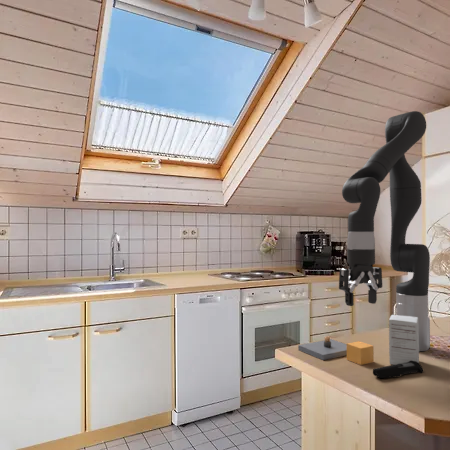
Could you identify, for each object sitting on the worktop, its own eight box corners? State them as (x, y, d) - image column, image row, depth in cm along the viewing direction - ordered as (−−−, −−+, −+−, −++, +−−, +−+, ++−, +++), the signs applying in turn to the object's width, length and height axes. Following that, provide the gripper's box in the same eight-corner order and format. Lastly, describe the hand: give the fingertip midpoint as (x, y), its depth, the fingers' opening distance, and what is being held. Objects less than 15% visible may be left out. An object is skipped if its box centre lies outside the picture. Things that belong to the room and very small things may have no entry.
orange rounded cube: (359, 356, 113) (359, 341, 113) (373, 362, 108) (373, 345, 108) (346, 359, 110) (346, 343, 110) (360, 365, 106) (360, 348, 106)
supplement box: (391, 356, 113) (391, 314, 113) (419, 360, 109) (419, 316, 109) (388, 364, 106) (388, 319, 107) (418, 368, 103) (417, 322, 103)
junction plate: (331, 343, 126) (331, 330, 126) (357, 352, 116) (357, 338, 116) (298, 349, 119) (298, 335, 119) (322, 360, 110) (322, 344, 110)
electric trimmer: (368, 378, 97) (368, 365, 97) (413, 369, 103) (412, 357, 103) (379, 383, 94) (379, 370, 94) (425, 374, 100) (424, 361, 100)
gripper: (369, 247, 115) (369, 300, 115) (332, 247, 109) (332, 304, 109) (389, 247, 108) (389, 304, 108) (351, 248, 102) (351, 308, 102)
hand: (361, 304), depth 108 cm, fingers open, 8 cm apart
